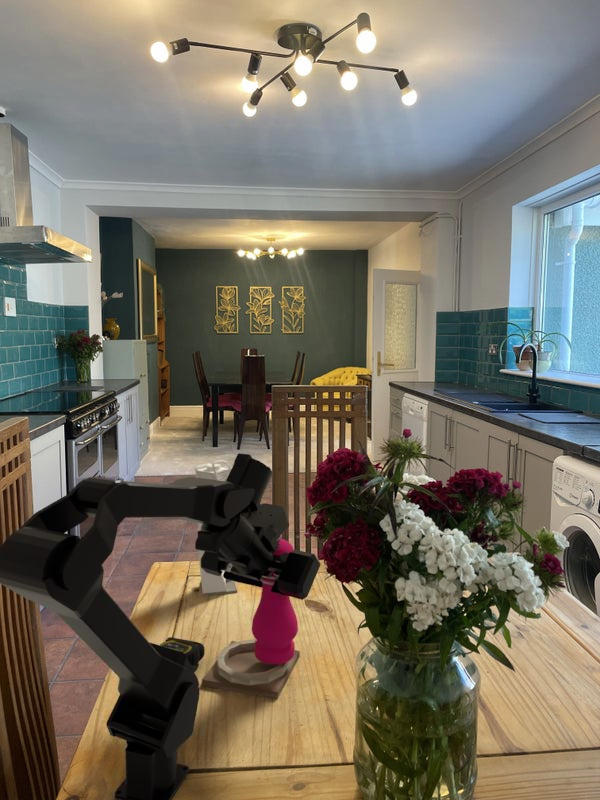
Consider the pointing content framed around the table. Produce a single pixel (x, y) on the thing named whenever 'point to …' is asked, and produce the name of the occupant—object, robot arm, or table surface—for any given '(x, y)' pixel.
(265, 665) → the stand
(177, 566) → the table surface
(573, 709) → the table surface
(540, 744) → the table surface
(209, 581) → the skyscraper
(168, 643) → the tape measure
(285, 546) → the pepper mill
